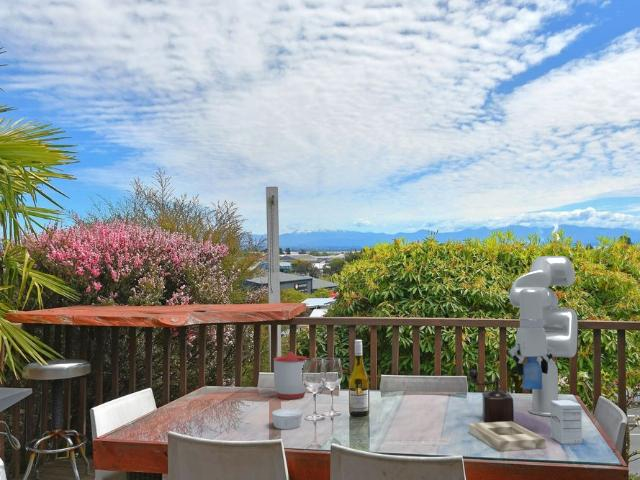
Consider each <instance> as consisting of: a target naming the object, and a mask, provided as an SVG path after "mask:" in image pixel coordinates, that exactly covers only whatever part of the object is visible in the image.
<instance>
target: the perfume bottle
mask: <svg viewBox="0 0 640 480" xmlns="http://www.w3.org/2000/svg"><path fill="white" fill-rule="evenodd" d="M536 360H537V357H526V361H525V362H524V363H523V375H522V389H527V390H532V389H541V390H542V368H541V366H540V364H539V362H538V361H536Z"/></svg>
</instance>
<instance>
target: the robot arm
mask: <svg viewBox="0 0 640 480" xmlns="http://www.w3.org/2000/svg"><path fill="white" fill-rule="evenodd" d="M575 279H576V272H575V268H574V266H573V263H572V262H571V260H570V259H569V258H568V257H567V256H565V255H564V256H563V255H545V256H544V255H542V256H537V257H536V258H534V260H533V261H532V263H531V266H530V270H529V272H528V273H526V274H524V275H521V276H519V277H518V278H517V279H515V280H514V281H513V283H512V285H511V287H510V290H509V295H508V296H509V302H510V305H512V306H513V307H515V308H519V327H517V330H516V336H515V346H514V347H512V348H511V349H509V350H508V354H509V355H510V357H511V359H513V362H515V366H516V367H515V369H516V372H517V373H516V374H517V375H520V376H523V366H524V363H523V361H524V359H526V358H527V357H537V360H536V361H538V362H539V364H540V366H541V368H542V390H541V389H531V393H532V394H531V397H532V406H529V407H528V412H529V413H530V414H533V415H535V416H536V415H537V416H543V417H551V401H553V400H559V384H558V383H559V382H558V381H559V380H558V379H559V375H558V374H559V373H558V367H557V364H556V363H555V361H554V360H553V359H552V358H554V357H556V358H573V357H575V355H576V354H577V351H578V350H577V349H578V325H579V324H578V315H577V313H576V311H575V310H574V309H572V308H568V307H559V297H558V296H557V294H556V293H555V292H554V291H553V290H552V289H551V288H550V287H551V286H552V287H555V286H556V287H560V286H561V287H570V286H573V284H574V282H575Z"/></svg>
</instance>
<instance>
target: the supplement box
mask: <svg viewBox="0 0 640 480" xmlns="http://www.w3.org/2000/svg"><path fill="white" fill-rule="evenodd" d="M582 416H583V415H582V405H581V404H580V403H577V402H575V401H573V400H569V399H561V400H559V399H558V400H553V401H551V416H550V434H551V435H550V438H551V439H553V440H554V441H556V442H558V443H560V445H578V444H579V445H580V444H583V431H582V430H583V429H582V426H583V420H582Z"/></svg>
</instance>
